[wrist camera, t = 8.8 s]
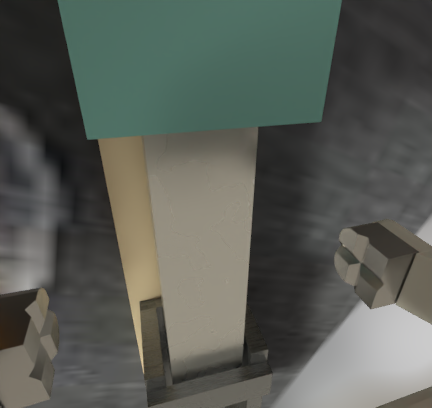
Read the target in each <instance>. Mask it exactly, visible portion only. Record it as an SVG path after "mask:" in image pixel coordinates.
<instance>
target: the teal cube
mask: <svg viewBox="0 0 432 408" xmlns="http://www.w3.org/2000/svg"><path fill="white" fill-rule="evenodd" d="M341 3H342V0H58V5H59V10H60V14H61V19H62V24H63V28H64V33H65V38H66V42H67V47H68V52H69V56H70V61H71V66H72V71H73V75H74V80H75V85H76V89H77V94H78V99H79V103H80V108H81V113H82V117H83V122H84V127H85V131H86V136H87V140H91V139H104V138H117V137H130V136H143V135H156V134H169V133H182V132H195V131H208V130H221V129H235V128H248V127H261V126H274V125H287V124H300V123H313V122H321V121H322V115H323V109H324V103H325V97H326V91H327V85H328V79H329V74H330V68H331V62H332V56H333V50H334V44H335V38H336V32H337V26H338V21H339V15H340V9H341Z"/></svg>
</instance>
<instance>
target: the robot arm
mask: <svg viewBox="0 0 432 408" xmlns="http://www.w3.org/2000/svg"><path fill="white" fill-rule="evenodd" d="M339 242H340V243H341V246H340V247H339V248H338V250H337V251H336V253H335V258H334V263H335V267H336V270H337V272H338V274H339V276H340V277H341V278H342V279H343V280H344V281H345V282H347V283H349V284H351V285H353V286H354V289H355V293H356V294H357V295H358V296H359V297H360V298H361V300H362V301H363V302H364V303H365V304H366V305H367V306H368V307H369V308H370V309H374V308H378V307H382V306H386V305H390V304H394V303H396V305H398V306H399V307H401V308H403V309H405V310H407V311H408V312H410V313H412V314H414V315H416V316H418V317H419V318H421V319H423V320H425V321H427V322H428V323H430V324H432V246H431V245H429V244H427V243H426V242H425V241H423V240H422V239H420V238H419V237H417V236H416V235H414V234H413V233H411V232H410V231H408V230H407V229H405V228H404V227H402V226H401V225H399V224H398V223H396V222H395V221H393V220H389V219H385V220H380V221H376V222H372V223H368V224H363V225H358V226H353V227H348V228H344V229H343V230H342V231H341V233H340V236H339ZM48 303H49V298H48V295H47V293H46V291H45V289H43V288H36V289H30V290H25V291H19V292H13V293H8V294H2V295H0V408H22V407H25V406H29V405H32V404H35V403H39V402H42V401H45V400H48V399H50V396H51V390H52V384H53V378H54V372H55V370H54V367H53V365H52V363H51V360H52V359H53V357H54V356H55V355H56V354H57V353H58V346H59V327H58V322H57V318H56V316H55V313H54V312H52V311H50V310H48V309H47V308H48ZM376 408H432V387H429V388H427V389H424V390H421V391H418V392H416V393H413V394H410V395H408V396H405V397H403V398H400V399H397V400H395V401H392V402H389V403H387V404H384V405H381V406H379V407H376Z"/></svg>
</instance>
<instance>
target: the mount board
mask: <svg viewBox="0 0 432 408" xmlns="http://www.w3.org/2000/svg"><path fill="white" fill-rule="evenodd" d="M98 143H99V148H100V153H101V158H102V163H103V168H104V173H105V178H106V184H107V189H108V194H109V199H110V204H111V209H112V214H113V219H114V224H115V229H116V235H117V240H118V245H119V250H120V255H121V260H122V265H123V270H124V275H125V281H126V286H127V291H128V296H129V301H130V306H131V311H132V316H133V321H134V326H135V332H136V337H137V342H138V347H139V352H140V357H141V362H142V367H143V372H144V364H143V349H142V334H141V319H140V303H139V302H140V301H145V300H150V299H155V298H160V297H161V292H160V284H159V276H158V268H157V260H156V252H155V244H154V236H153V227H152V219H151V211H150V203H149V195H148V187H147V179H146V171H145V162H144V154H143V146H142V138H141V136H130V137H117V138H104V139H98Z"/></svg>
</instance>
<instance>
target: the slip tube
mask: <svg viewBox="0 0 432 408" xmlns="http://www.w3.org/2000/svg"><path fill="white" fill-rule="evenodd" d="M141 138H142V146H143V154H144V162H145V171H146V179H147V187H148V195H149V203H150V211H151V219H152V227H153V236H154V244H155V252H156V260H157V268H158V276H159V284H160V292H161V300H162V309H163V317H164V325H165V333H166V341H167V349H168V356H169V363H170V370H171V377H172V384H173V385H174V384H178V383H182V382H186V381H190V380H193V379H197V378H201V377H205V376H209V375H213V374H217V373H220V372H224V371H228V370H232V369H236V368H240V367H242V357H243V343H244V328H245V314H246V299H247V285H248V270H249V256H250V241H251V227H252V212H253V198H254V183H255V169H256V154H257V140H258V127H248V128H235V129H221V130H208V131H195V132H182V133H169V134H156V135H143V136H141Z"/></svg>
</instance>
